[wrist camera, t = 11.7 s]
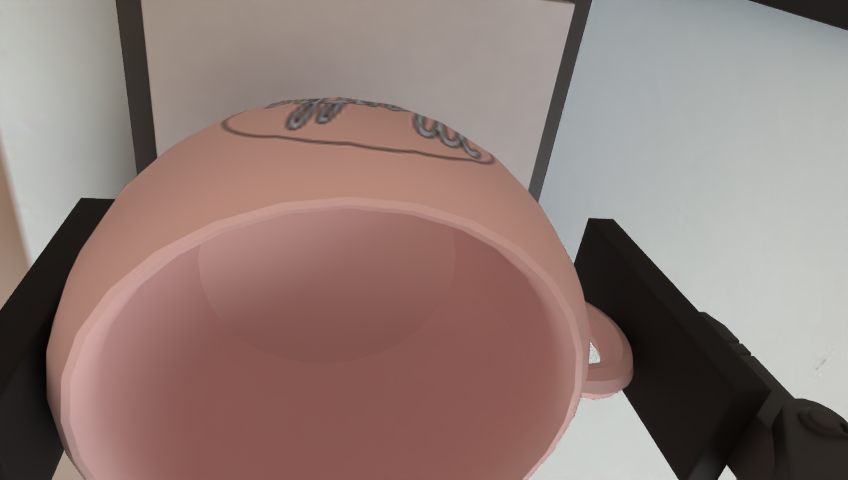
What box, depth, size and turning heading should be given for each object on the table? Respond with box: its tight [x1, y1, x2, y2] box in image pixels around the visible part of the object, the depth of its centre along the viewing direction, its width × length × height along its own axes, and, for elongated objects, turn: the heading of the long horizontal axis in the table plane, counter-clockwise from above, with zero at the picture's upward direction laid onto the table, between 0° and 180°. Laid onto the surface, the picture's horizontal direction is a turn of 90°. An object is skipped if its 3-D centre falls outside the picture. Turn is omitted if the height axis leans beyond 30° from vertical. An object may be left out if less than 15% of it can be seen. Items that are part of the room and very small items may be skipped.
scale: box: [116, 0, 592, 203], centre depth 21 cm, size 14×14×3 cm
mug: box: [46, 97, 633, 480], centre depth 13 cm, size 12×10×6 cm
